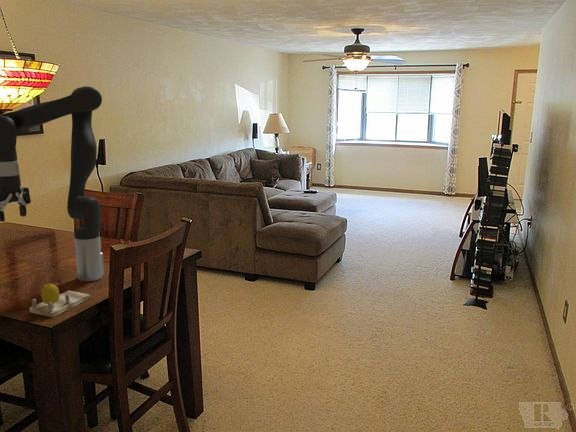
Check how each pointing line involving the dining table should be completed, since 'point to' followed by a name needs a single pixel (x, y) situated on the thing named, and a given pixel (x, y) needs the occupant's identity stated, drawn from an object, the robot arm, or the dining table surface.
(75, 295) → the peg board
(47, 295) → the lemon
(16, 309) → the dining table surface
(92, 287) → the dining table surface
